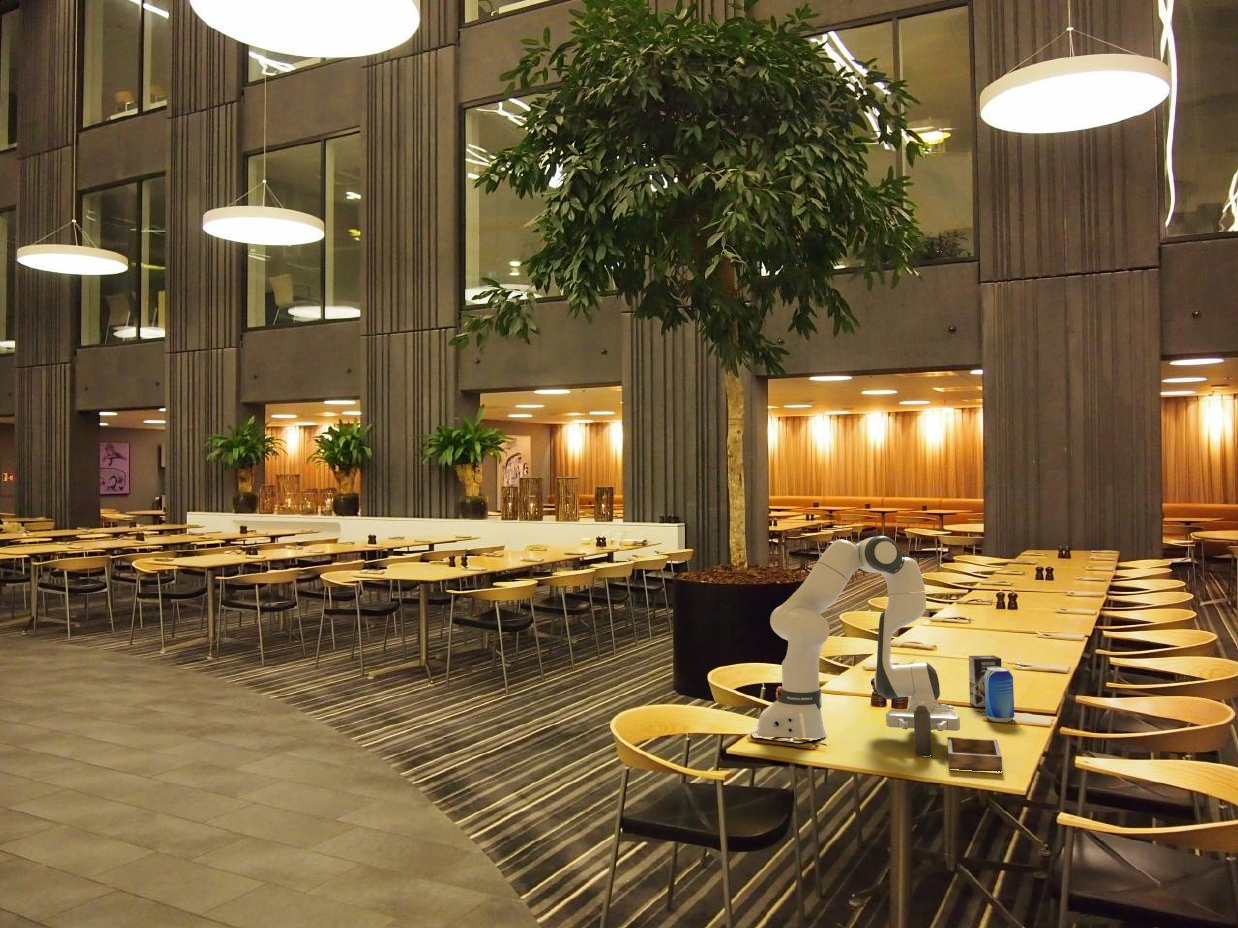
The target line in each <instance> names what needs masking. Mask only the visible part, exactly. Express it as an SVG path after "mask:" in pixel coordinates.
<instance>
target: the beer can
mask: <svg viewBox="0 0 1238 928" xmlns="http://www.w3.org/2000/svg"><path fill="white" fill-rule="evenodd" d="M987 669H988V670H987V672H986V673H985V675H984V679H985V706H986V707H985V716H986V717H987V719H988V718H989V719H990V720H989V719H988V720H989V721H992V722H996V723H997V722H998V723H1009V722H1008V721H1010V722H1012V721H1013V719H1014V717H1015V698H1014V676H1013V674H1012V672H1011V671H1010V668H1008V667H1005V666H1004V667H1003V666H1001V667H988V668H987ZM1011 720H1012V721H1011Z"/></svg>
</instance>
